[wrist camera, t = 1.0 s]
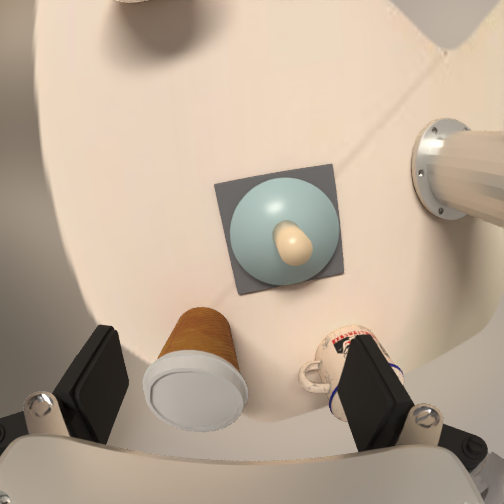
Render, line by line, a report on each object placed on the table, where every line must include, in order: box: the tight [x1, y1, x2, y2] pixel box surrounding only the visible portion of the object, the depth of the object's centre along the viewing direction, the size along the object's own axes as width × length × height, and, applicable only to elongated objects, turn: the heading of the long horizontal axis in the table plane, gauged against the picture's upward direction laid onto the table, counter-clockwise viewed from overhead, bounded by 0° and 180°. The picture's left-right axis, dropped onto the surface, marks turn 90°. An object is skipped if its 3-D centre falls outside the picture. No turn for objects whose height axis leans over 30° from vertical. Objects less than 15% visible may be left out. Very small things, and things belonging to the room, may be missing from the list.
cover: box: [230, 177, 339, 285], centre depth 28 cm, size 11×11×6 cm
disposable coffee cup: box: [143, 307, 248, 432], centre depth 28 cm, size 10×10×12 cm
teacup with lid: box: [298, 325, 404, 422], centre depth 31 cm, size 12×9×12 cm
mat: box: [214, 164, 344, 294], centre depth 31 cm, size 12×12×1 cm
